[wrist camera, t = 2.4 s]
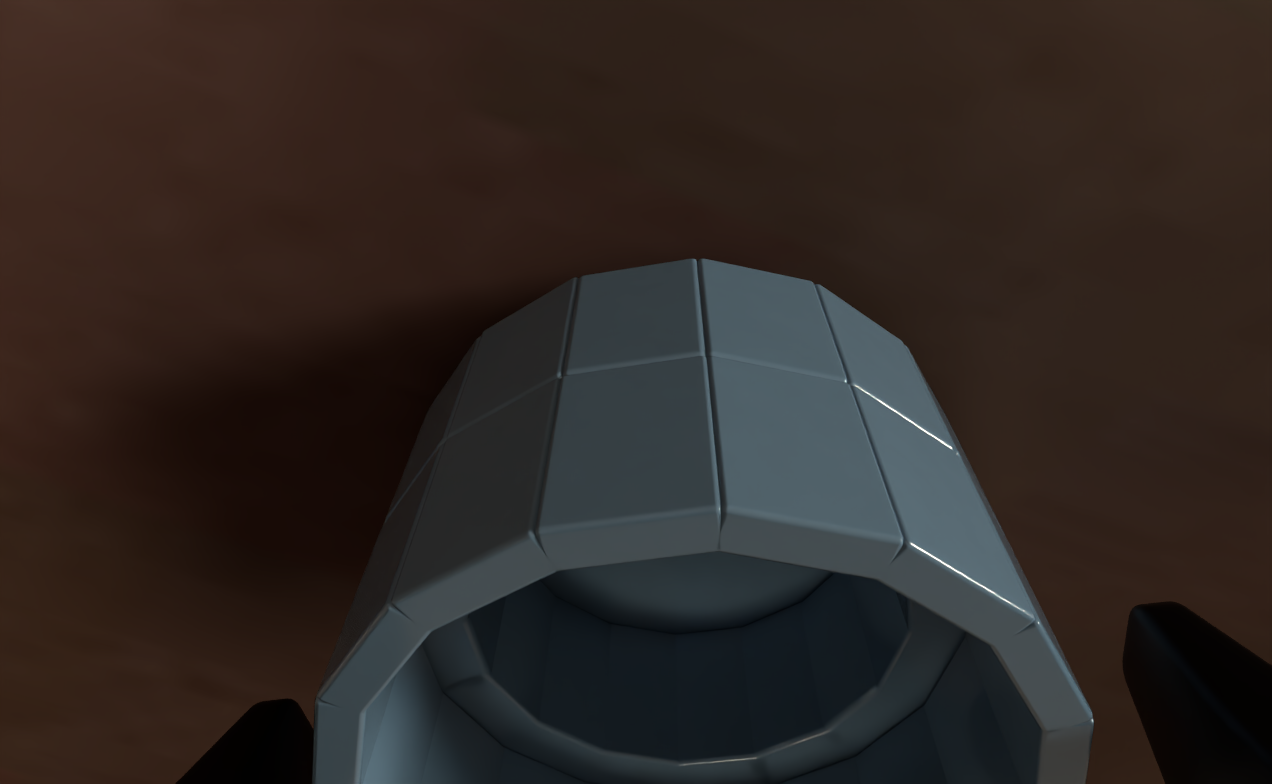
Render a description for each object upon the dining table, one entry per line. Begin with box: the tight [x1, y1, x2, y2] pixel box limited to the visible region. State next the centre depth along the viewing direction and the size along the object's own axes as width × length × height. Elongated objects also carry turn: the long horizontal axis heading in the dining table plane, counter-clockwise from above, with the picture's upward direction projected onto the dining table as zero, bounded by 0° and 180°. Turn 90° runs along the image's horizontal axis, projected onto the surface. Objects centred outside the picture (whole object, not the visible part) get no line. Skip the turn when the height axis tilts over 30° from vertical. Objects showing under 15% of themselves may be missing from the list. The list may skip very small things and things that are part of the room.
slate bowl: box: [312, 258, 1094, 784], centre depth 10 cm, size 7×7×5 cm
